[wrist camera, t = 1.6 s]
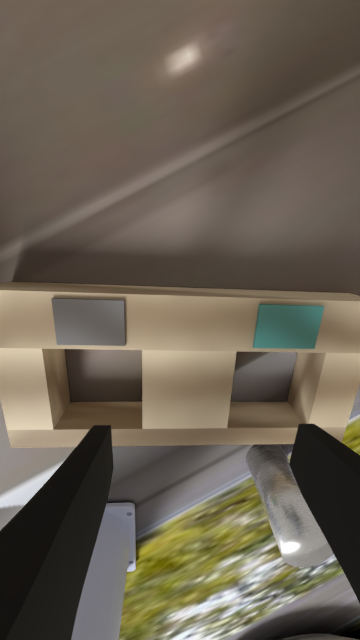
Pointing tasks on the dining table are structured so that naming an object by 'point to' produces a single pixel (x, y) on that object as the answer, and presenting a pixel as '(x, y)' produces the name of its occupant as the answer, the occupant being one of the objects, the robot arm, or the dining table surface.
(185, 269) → the dining table surface
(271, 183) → the dining table surface
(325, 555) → the steel peg
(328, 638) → the dinner plate
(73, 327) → the socket block
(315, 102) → the dining table surface
